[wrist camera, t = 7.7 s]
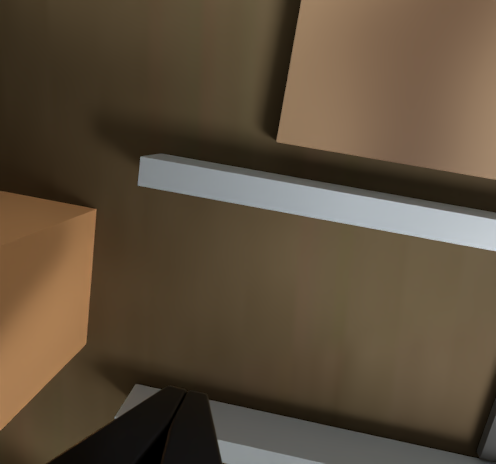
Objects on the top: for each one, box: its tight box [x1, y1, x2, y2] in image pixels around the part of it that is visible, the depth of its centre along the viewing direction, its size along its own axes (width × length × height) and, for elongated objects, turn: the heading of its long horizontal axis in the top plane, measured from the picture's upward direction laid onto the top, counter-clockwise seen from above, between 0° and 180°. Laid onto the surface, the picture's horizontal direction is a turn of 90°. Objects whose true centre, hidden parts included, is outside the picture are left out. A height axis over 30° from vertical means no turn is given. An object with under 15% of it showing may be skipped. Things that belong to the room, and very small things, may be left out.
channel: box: [115, 153, 496, 464], centre depth 13 cm, size 14×9×2 cm, turn 81°
